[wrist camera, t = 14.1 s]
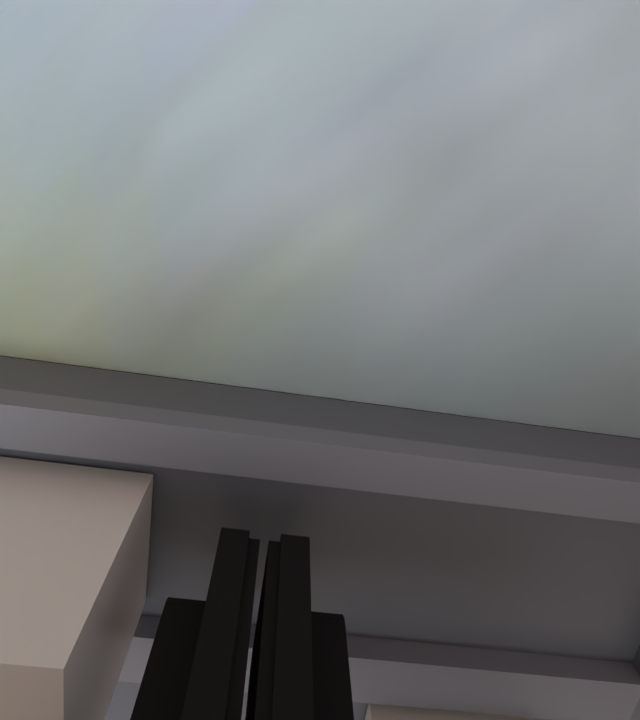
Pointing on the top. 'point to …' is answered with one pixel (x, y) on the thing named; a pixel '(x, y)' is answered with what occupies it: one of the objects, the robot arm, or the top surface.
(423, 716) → the tab
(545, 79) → the top surface
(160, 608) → the switch board
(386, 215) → the top surface
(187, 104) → the top surface
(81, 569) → the tab
